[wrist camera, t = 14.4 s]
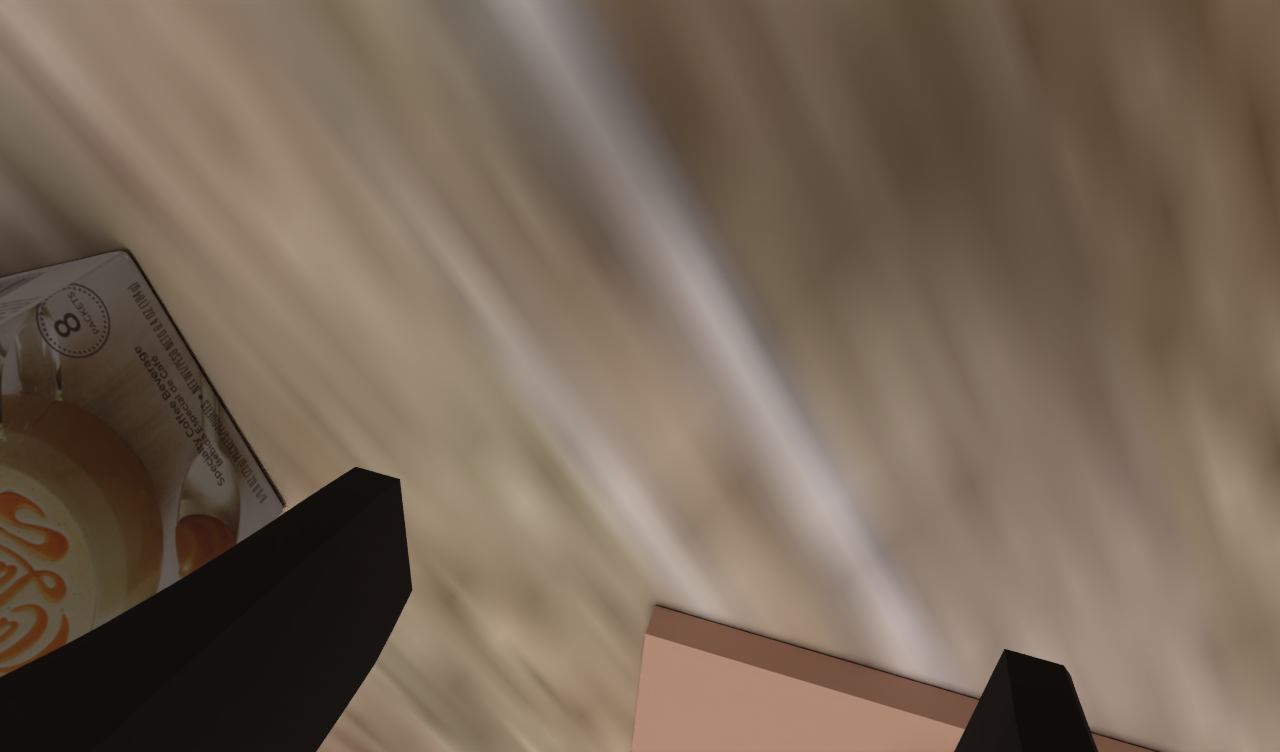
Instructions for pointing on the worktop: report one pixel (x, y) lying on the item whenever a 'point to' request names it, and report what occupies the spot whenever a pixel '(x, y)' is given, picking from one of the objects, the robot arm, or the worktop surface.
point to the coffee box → (106, 455)
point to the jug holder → (784, 698)
